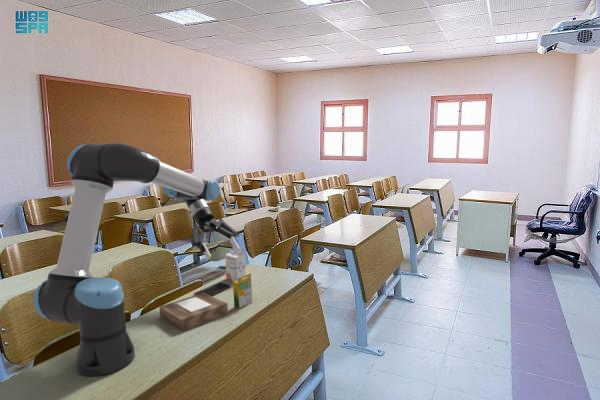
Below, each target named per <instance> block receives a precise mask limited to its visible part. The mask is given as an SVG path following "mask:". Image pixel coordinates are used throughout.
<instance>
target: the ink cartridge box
mask: <svg viewBox="0 0 600 400" xmlns="http://www.w3.org/2000/svg"><path fill="white" fill-rule="evenodd" d="M244 251H245V250H244V249H243V248H241V247H240V250H239V251H238V252H237V253H236V251H235V250H234V248H233V247H232V251H231V252H229V253H226V254H225V255H224V257H225V274H226V275H225V277H226V279H227V280H229V281H232V282H235V281H237V280H238V278H240V277H243V276H245V275H246V261H245V260H246V259H245V252H244Z"/></svg>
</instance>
